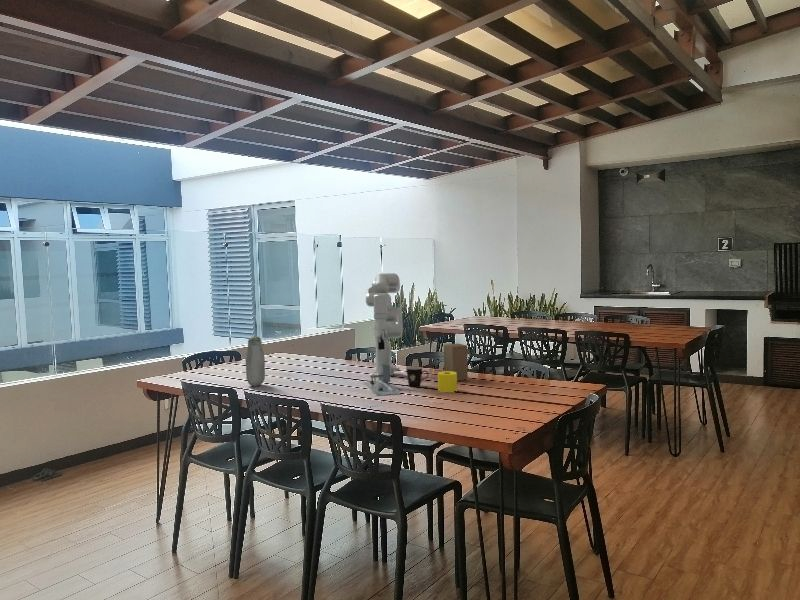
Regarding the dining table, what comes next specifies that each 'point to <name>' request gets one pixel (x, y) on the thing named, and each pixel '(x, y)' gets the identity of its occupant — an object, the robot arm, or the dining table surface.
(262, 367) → the grey vase
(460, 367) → the wooden block
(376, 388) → the gauge board
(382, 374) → the sliding jaw
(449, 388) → the tape roll
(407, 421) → the dining table surface
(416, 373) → the coffee mug
